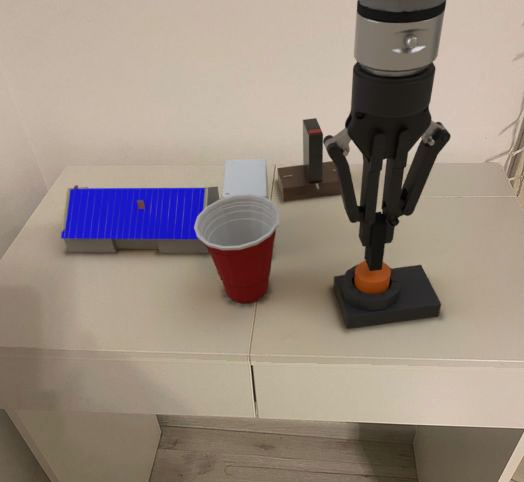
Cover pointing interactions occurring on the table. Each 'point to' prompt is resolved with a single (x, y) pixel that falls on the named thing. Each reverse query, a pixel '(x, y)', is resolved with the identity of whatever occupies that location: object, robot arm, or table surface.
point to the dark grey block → (312, 150)
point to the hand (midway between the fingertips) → (372, 263)
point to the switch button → (372, 278)
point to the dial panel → (307, 182)
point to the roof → (134, 218)
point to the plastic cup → (240, 243)
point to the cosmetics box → (245, 177)
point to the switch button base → (387, 298)
